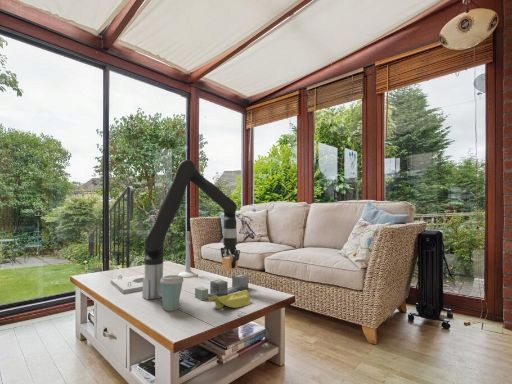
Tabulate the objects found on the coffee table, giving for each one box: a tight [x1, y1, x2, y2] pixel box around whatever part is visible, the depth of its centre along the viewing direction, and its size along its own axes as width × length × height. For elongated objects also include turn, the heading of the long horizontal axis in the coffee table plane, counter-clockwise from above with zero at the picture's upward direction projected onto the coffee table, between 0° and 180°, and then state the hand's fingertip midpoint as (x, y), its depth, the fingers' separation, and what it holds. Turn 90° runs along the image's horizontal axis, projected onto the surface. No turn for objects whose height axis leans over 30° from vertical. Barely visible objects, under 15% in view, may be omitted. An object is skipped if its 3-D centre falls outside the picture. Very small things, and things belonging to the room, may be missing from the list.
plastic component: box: [207, 289, 251, 310], centre depth 142 cm, size 20×7×10 cm
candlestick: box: [177, 231, 198, 279], centre depth 199 cm, size 13×13×30 cm
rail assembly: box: [208, 273, 249, 298], centre depth 163 cm, size 26×7×7 cm, turn 138°
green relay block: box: [194, 286, 209, 301], centre depth 152 cm, size 4×6×5 cm, turn 44°
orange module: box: [221, 256, 239, 271], centre depth 164 cm, size 7×5×6 cm
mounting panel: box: [110, 273, 167, 295], centre depth 179 cm, size 27×5×30 cm
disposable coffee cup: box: [160, 274, 184, 312], centre depth 138 cm, size 11×11×15 cm
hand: (230, 267), depth 164 cm, fingers closed on orange module, 5 cm apart
